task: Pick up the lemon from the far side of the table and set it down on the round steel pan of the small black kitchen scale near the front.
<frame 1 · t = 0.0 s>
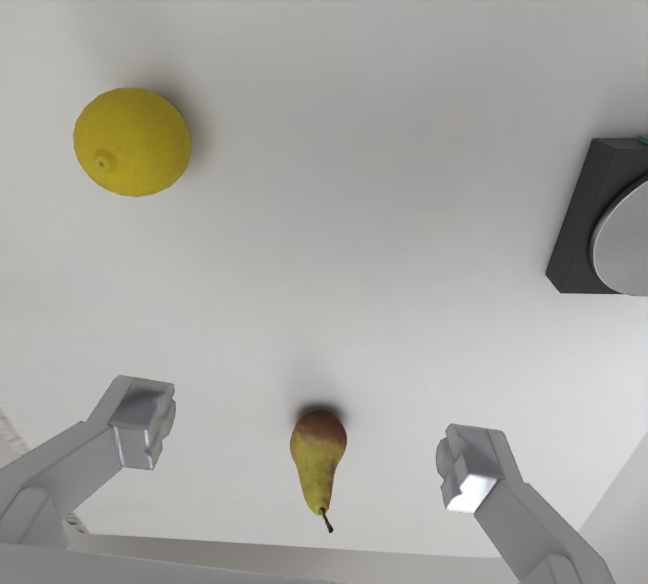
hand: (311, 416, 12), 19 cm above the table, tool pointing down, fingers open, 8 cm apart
lemon: (165, 127, 26), on the table
fruit: (319, 417, 41), on the table
scale: (640, 213, 27), on the table
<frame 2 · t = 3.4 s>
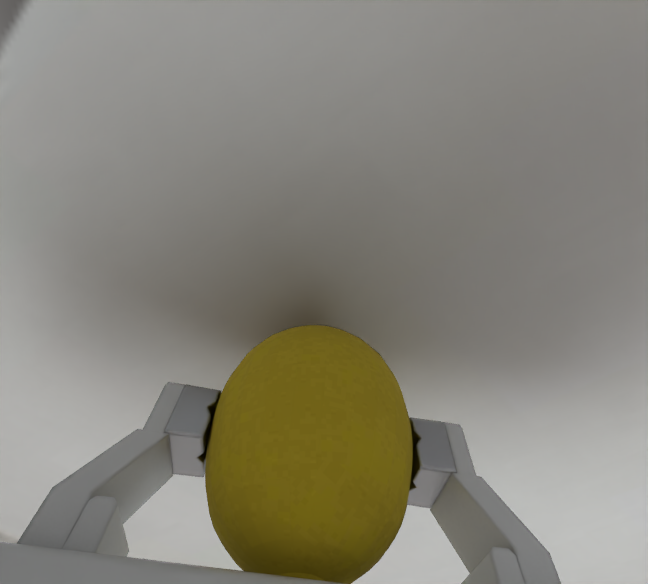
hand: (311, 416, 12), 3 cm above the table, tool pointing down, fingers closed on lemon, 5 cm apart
lemon: (319, 338, 15), on the table, touching gripper
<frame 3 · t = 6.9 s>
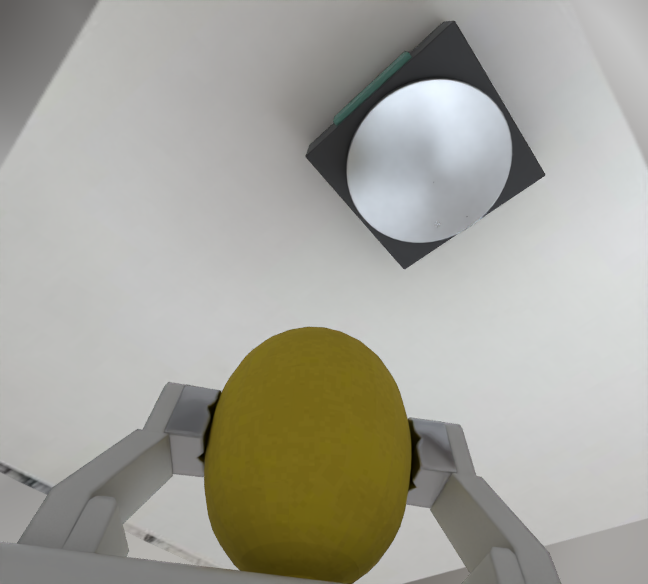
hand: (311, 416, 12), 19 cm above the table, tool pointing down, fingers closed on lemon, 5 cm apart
lemon: (318, 339, 15), point 15 cm above the table, touching gripper
scale: (418, 154, 25), on the table
scale pan: (426, 168, 23), point 3 cm above the table, slide at 0.0 cm
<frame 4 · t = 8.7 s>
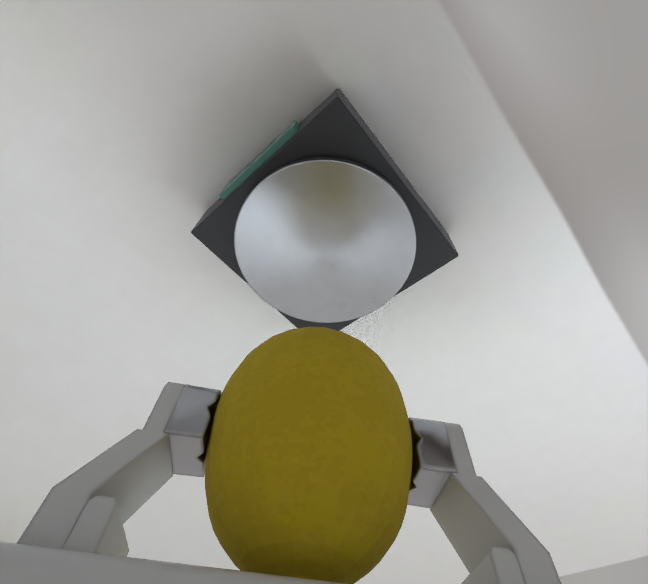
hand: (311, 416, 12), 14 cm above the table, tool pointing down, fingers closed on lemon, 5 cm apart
lemon: (319, 339, 15), point 10 cm above the table, touching gripper
scale: (326, 223, 23), on the table
scale pan: (324, 249, 20), point 3 cm above the table, slide at 0.0 cm
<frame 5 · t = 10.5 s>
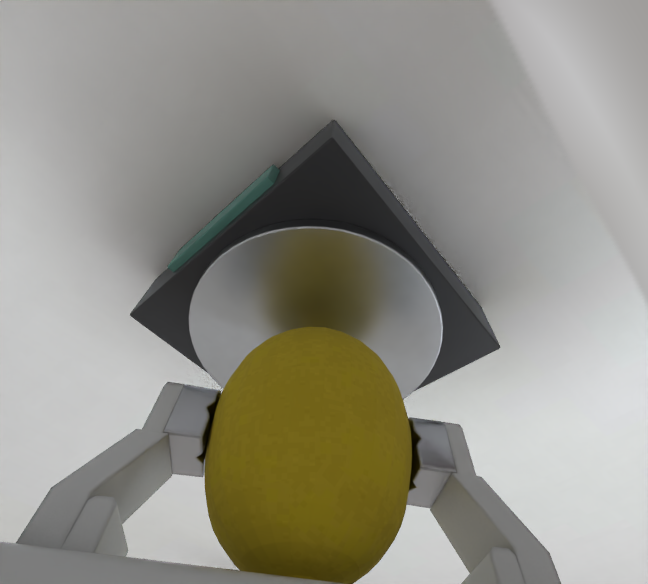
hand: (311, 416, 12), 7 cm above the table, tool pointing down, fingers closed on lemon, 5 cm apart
lemon: (319, 339, 15), point 3 cm above the table, touching gripper, scale pan
scale: (319, 293, 17), on the table
scale pan: (315, 337, 15), point 3 cm above the table, slide at -0.2 cm, touching lemon, scale
when the fingers open (7 cm above the table, at t = 10.8 s): lemon stays where it is, resting on scale pan.
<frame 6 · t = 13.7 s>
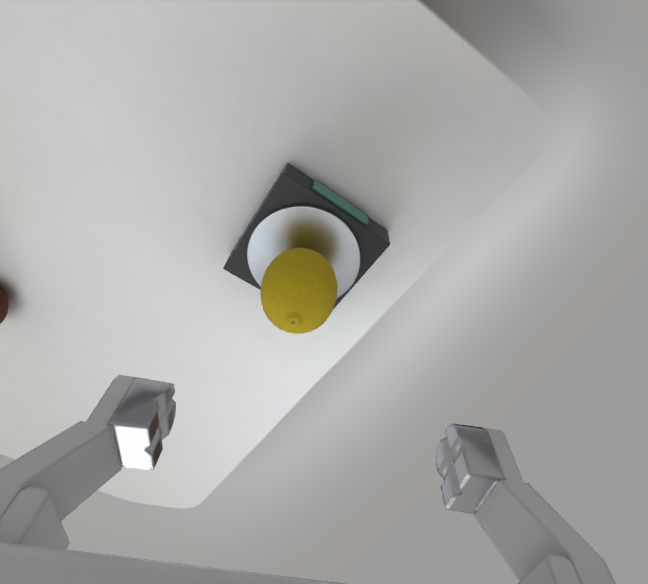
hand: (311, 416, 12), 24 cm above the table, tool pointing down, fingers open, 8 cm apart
lemon: (304, 261, 32), point 3 cm above the table, touching scale pan
scale: (306, 242, 35), on the table
scale pan: (303, 258, 32), point 3 cm above the table, slide at -0.2 cm, touching lemon, scale
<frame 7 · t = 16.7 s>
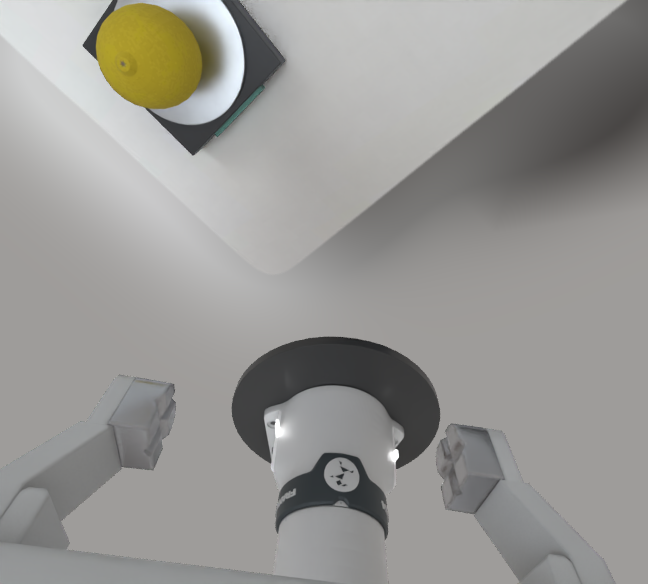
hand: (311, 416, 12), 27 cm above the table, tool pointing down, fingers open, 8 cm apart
lemon: (177, 54, 28), point 3 cm above the table, touching scale pan
scale: (193, 52, 30), on the table
scale pan: (180, 54, 28), point 3 cm above the table, slide at -0.2 cm, touching lemon, scale
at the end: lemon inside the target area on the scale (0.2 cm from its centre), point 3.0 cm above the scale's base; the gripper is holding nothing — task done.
